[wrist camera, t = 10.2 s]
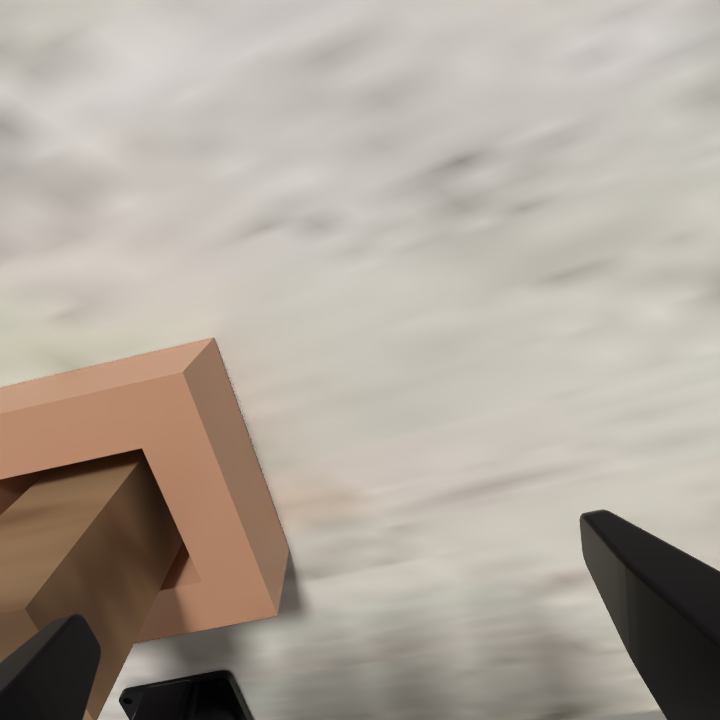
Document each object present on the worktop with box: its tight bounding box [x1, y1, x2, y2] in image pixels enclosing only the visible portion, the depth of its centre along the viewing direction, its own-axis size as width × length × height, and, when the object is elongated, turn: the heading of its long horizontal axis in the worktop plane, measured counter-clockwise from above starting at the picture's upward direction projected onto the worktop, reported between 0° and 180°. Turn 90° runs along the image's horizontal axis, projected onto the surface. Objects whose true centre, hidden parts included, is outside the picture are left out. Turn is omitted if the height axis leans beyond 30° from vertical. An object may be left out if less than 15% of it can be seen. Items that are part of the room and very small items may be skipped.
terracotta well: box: [0, 338, 289, 643], centre depth 21 cm, size 12×12×4 cm
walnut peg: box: [0, 448, 183, 720], centre depth 18 cm, size 4×4×10 cm
